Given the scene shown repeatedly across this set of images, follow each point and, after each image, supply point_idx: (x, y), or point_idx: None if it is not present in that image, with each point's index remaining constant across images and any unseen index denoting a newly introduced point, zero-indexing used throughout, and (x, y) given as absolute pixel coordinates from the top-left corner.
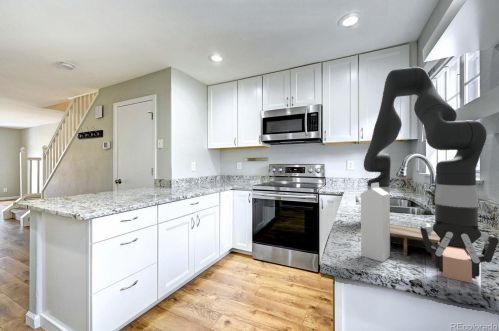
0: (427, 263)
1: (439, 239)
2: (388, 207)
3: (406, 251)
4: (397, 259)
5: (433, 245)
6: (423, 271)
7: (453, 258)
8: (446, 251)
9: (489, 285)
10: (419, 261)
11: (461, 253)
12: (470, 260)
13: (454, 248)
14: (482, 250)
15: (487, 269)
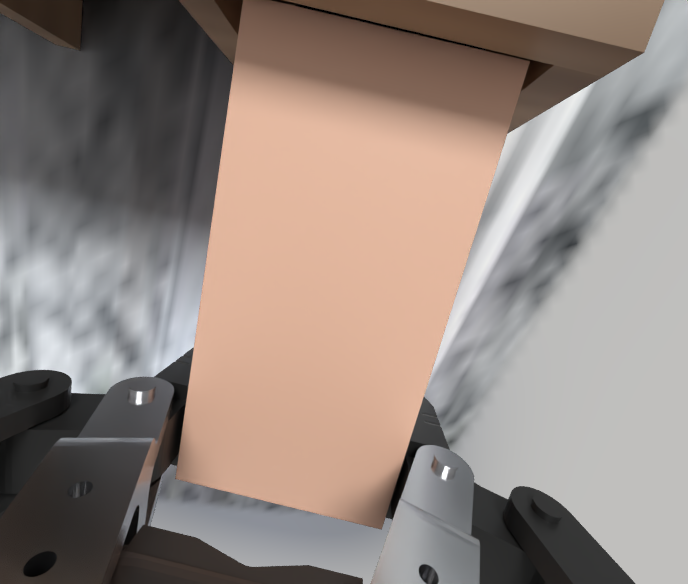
0: (209, 170)
1: (28, 488)
2: None
3: (35, 26)
4: (12, 176)
5: (196, 10)
6: (156, 339)
7: (254, 496)
8: (251, 318)
9: (459, 402)
10: (160, 149)
11: (392, 329)
12: (380, 515)
13: (398, 133)
14: (566, 576)
15: (625, 107)
